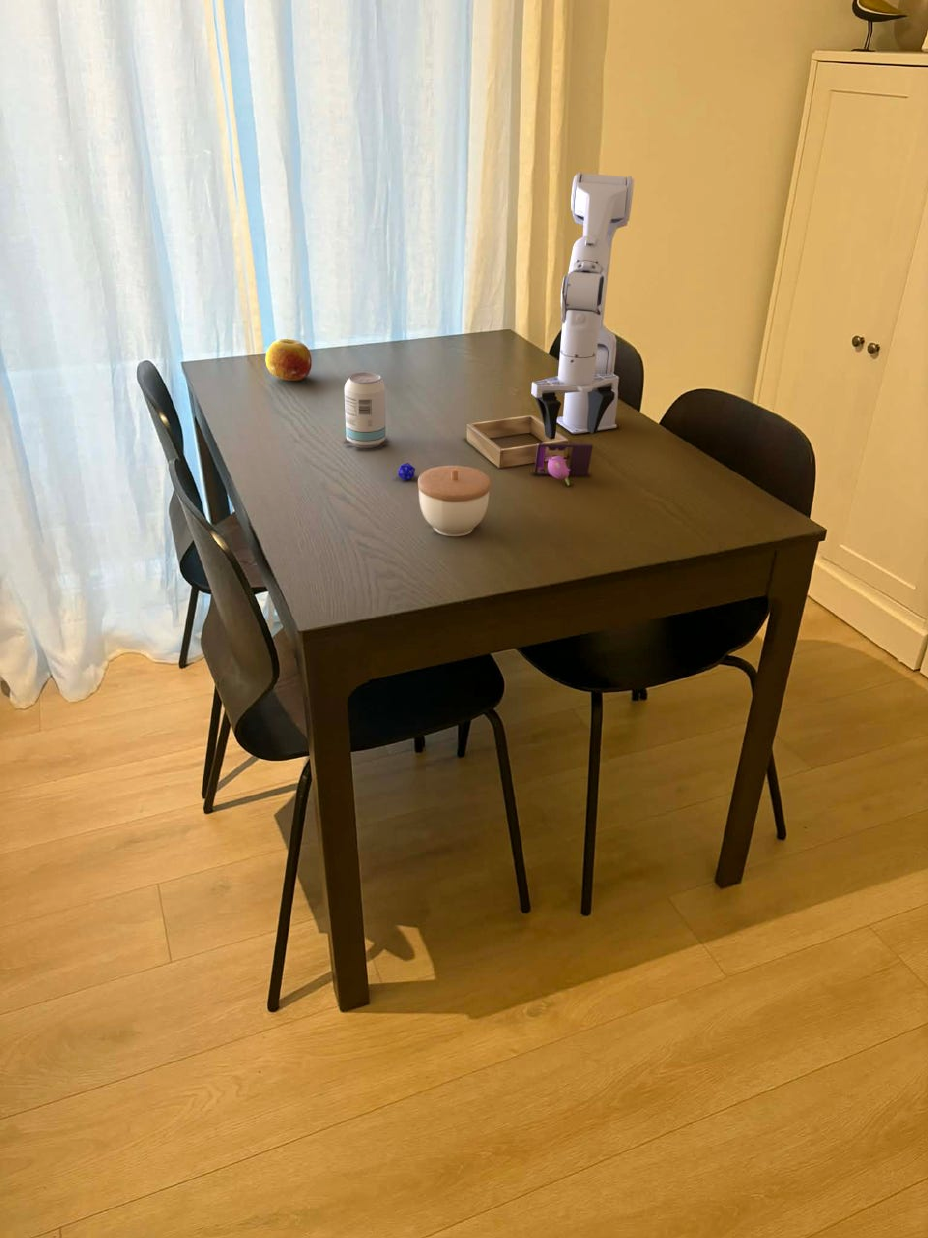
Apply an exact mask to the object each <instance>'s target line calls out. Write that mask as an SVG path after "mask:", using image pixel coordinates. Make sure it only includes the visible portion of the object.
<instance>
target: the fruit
mask: <svg viewBox="0 0 928 1238" xmlns="http://www.w3.org/2000/svg"><path fill="white" fill-rule="evenodd" d="M264 360H265V365H266V369H267V370H268V371H269V373H270V374H271V375H272V376H273V377H274V378H277V379H280V380H283V381H289V382H298V381H301V380H303V379H305V378H307V377H308V375H310V373H311V371H312V367H313V365H312V361H313V360H312V354H311V352H310V350H309V348H308V347H307V346H306V345H305V343H302V342H300V341H298V340H295V339H289V338H282V339H277V340H274V341H273V342H272V343H271V344H270V345H269V346H268V347H267V350H266V353H265V359H264Z"/></svg>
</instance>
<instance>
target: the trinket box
mask: <svg viewBox="0 0 928 1238" xmlns="http://www.w3.org/2000/svg"><path fill="white" fill-rule="evenodd" d="M491 481H492V480H491V478H490V477H489V476H488V475H487V474H486V473H485V472H483V471H482V470H479V469H476V468H473V467H469V466H462V465H443V466H437V467H436V466H435V467H433V468H430V469H428V470H425V471H423V472H422V473H421V474H420V475H419V477H418V478H417V488H418V502H419V507H420V511H421V513H422V516H423V518H424V519H425V521H426V522H427V523H428V524H429V525H430V526H431V527H432V528H433V530H434V531H435V532H436V533H438V534H440V535H442V536H447V537H460V536H465V535H468V534H470V533H471V532H472V531H473V530H474V529H475V528H476V527H477V526H478V525H479V524H480V523H481V522H482V521H483V519H484V517H485V516H486V513H487V510H488V506H489V502H490V492H491V485H492V482H491Z"/></svg>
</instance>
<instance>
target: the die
mask: <svg viewBox="0 0 928 1238" xmlns="http://www.w3.org/2000/svg"><path fill="white" fill-rule="evenodd" d="M415 472H416V468H415V467H414V466H412V465H411V464H410V463H409V462H406V463H403V464H402V465H401V466H400V467H399V468H398V473H397V475H398V476H399V477H400V478H401V479H403V480H404V481H405V482H407V481H409V480H411V479H413V477H414V476H415Z"/></svg>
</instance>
